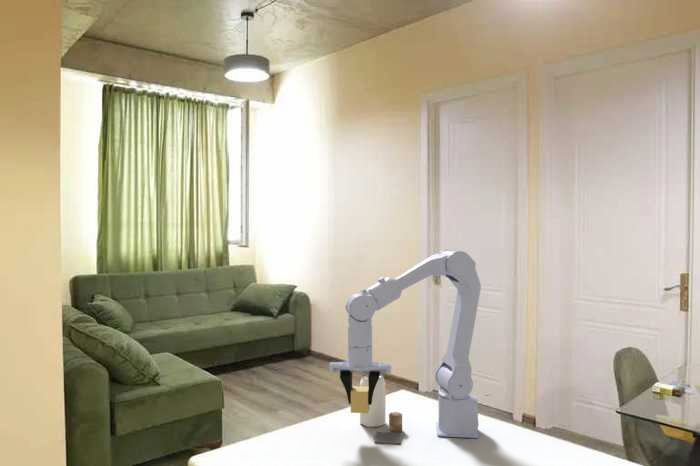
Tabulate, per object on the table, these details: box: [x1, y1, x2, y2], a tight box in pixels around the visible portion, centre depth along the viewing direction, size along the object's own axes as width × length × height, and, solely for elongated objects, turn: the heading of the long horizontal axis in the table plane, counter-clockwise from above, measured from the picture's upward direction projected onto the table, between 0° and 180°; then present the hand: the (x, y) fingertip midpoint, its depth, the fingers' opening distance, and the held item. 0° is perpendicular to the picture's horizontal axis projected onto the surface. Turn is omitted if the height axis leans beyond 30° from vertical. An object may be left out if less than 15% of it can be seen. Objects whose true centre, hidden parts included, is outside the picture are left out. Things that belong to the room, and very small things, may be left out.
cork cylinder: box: [388, 411, 403, 434], centre depth 130 cm, size 3×3×4 cm
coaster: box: [374, 431, 402, 445], centre depth 125 cm, size 6×6×1 cm
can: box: [359, 373, 386, 428], centre depth 135 cm, size 6×6×12 cm
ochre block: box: [350, 385, 370, 414], centre depth 125 cm, size 4×4×5 cm
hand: (360, 402), depth 125 cm, fingers closed on ochre block, 4 cm apart
